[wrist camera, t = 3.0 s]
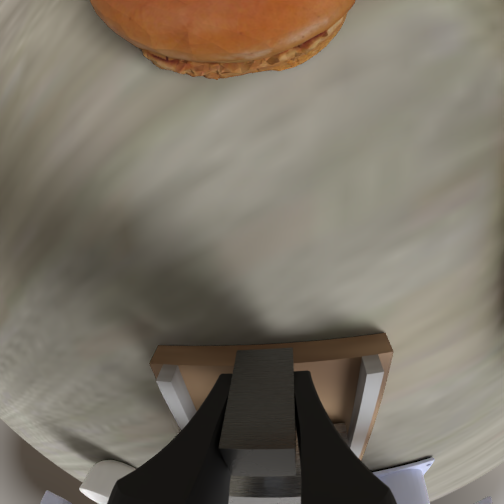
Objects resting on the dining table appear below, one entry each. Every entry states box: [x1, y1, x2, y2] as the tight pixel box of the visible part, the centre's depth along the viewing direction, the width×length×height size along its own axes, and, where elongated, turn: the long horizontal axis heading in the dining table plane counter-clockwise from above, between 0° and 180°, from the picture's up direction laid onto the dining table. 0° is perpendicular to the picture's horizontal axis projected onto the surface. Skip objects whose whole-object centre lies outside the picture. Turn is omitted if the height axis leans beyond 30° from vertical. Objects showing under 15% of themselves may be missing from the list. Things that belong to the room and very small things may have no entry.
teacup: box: [79, 460, 136, 504], centre depth 22 cm, size 10×8×5 cm
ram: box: [219, 348, 348, 504], centre depth 12 cm, size 9×8×5 cm
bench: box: [149, 333, 393, 460], centre depth 15 cm, size 15×12×6 cm
